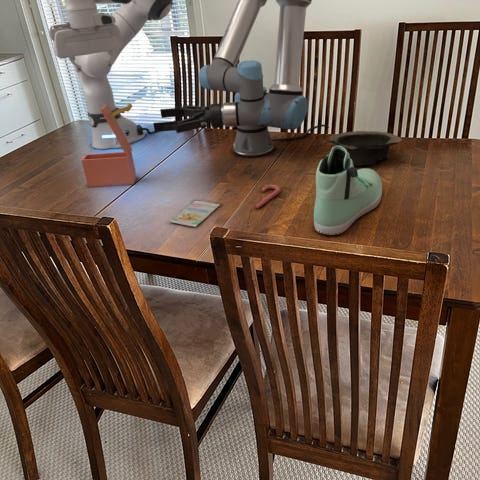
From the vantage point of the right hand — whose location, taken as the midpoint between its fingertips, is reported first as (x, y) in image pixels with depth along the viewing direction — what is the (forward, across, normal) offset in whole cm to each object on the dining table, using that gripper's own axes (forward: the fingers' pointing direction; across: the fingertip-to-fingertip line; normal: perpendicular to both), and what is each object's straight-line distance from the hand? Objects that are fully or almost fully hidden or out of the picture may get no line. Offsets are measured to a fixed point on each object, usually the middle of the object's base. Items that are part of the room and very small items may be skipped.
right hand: (157, 120), depth 155 cm
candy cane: (-33, -19, -21) cm, 44 cm away
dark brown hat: (-69, +9, -22) cm, 73 cm away
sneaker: (-57, -29, -21) cm, 67 cm away
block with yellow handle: (+14, 0, -3) cm, 15 cm away
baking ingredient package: (-12, -27, -21) cm, 36 cm away
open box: (+20, 0, -21) cm, 28 cm away
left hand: (+17, 0, +17) cm, 24 cm away
